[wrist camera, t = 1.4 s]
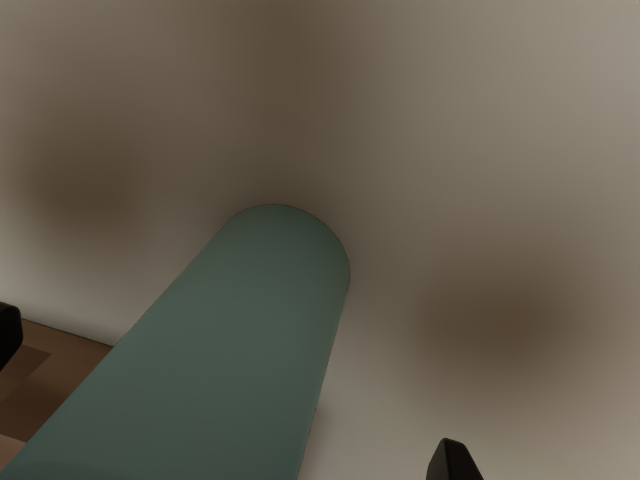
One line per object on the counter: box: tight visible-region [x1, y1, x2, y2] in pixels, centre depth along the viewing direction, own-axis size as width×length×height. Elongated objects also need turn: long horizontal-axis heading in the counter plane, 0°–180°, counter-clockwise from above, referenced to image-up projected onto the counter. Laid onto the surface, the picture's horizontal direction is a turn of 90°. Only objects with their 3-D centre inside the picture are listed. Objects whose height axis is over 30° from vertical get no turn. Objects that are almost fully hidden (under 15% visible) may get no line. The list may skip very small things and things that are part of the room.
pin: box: [0, 204, 350, 480], centre depth 10 cm, size 4×4×8 cm
